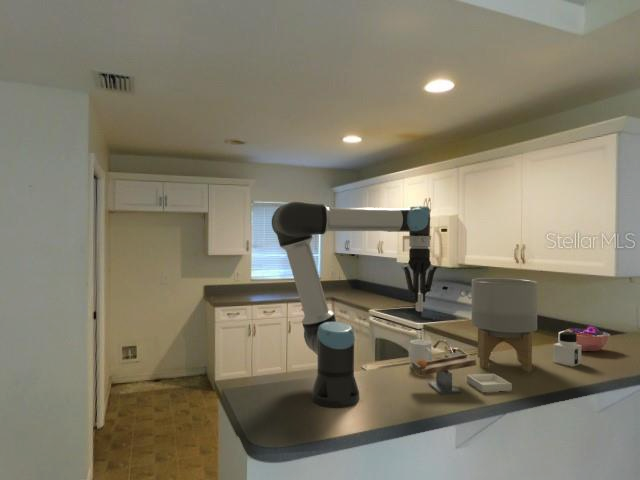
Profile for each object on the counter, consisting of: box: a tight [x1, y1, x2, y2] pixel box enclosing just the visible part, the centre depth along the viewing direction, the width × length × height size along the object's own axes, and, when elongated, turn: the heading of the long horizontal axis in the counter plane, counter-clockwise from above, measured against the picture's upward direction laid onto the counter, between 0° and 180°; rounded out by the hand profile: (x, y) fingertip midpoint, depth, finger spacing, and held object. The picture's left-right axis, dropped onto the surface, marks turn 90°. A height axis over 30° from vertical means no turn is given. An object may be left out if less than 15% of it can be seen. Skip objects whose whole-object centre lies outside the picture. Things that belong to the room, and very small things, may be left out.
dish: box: [466, 373, 513, 394], centre depth 147 cm, size 11×11×3 cm
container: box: [552, 330, 582, 367], centre depth 176 cm, size 8×8×13 cm
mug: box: [409, 339, 434, 369], centre depth 166 cm, size 12×8×10 cm
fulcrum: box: [427, 370, 461, 395], centre depth 144 cm, size 7×10×7 cm
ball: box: [417, 359, 427, 369], centre depth 143 cm, size 3×3×3 cm
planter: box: [470, 277, 538, 373], centre depth 175 cm, size 25×25×34 cm
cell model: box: [563, 325, 611, 352], centre depth 197 cm, size 17×20×11 cm
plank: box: [411, 351, 477, 377], centre depth 147 cm, size 20×13×3 cm, turn 99°
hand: (419, 310), depth 158 cm, fingers closed
